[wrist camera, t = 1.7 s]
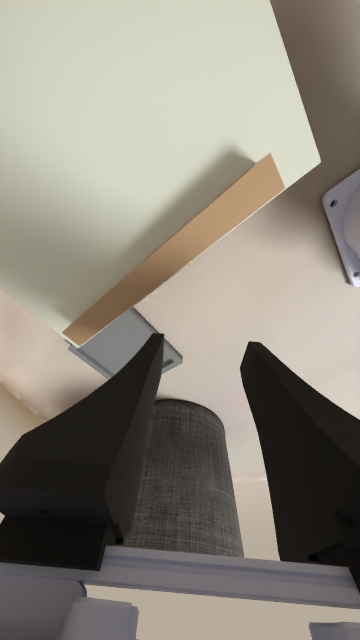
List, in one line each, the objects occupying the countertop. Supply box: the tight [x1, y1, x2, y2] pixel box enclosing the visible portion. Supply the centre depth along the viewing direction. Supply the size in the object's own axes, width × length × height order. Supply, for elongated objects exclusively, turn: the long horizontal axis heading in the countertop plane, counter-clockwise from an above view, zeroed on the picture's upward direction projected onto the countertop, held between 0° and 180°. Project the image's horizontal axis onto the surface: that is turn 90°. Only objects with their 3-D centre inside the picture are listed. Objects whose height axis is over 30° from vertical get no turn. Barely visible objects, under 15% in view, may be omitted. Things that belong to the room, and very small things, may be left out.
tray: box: [68, 307, 183, 379], centre depth 23 cm, size 10×10×1 cm
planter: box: [115, 400, 244, 558], centre depth 26 cm, size 18×18×16 cm
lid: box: [0, 0, 321, 348], centre depth 8 cm, size 15×19×2 cm
